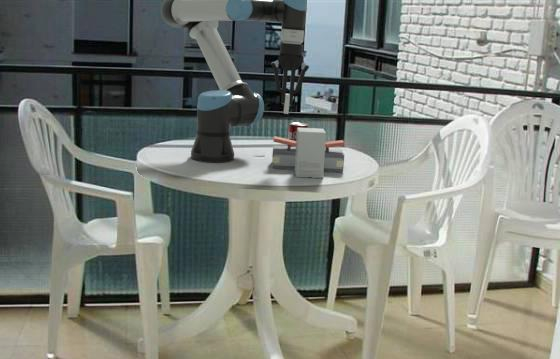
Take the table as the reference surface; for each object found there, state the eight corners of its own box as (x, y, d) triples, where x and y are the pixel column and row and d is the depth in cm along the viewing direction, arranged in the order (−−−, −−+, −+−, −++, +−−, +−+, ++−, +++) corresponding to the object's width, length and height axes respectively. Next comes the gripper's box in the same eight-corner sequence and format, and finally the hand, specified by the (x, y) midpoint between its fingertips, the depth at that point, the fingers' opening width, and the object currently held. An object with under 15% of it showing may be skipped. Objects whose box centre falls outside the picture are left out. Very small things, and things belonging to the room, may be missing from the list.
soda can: (304, 158, 250) (307, 126, 247) (285, 156, 252) (287, 124, 249) (308, 155, 257) (310, 123, 254) (289, 153, 258) (291, 121, 256)
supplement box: (321, 172, 229) (324, 128, 226) (323, 178, 221) (326, 132, 217) (293, 171, 229) (296, 126, 226) (295, 177, 220) (298, 131, 217)
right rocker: (311, 149, 232) (311, 145, 232) (311, 147, 236) (311, 143, 236) (344, 145, 232) (344, 142, 232) (343, 143, 236) (342, 140, 236)
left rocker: (273, 141, 232) (274, 138, 231) (273, 139, 236) (274, 136, 236) (304, 149, 232) (305, 145, 232) (304, 146, 236) (305, 143, 236)
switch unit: (271, 168, 231) (273, 147, 229) (272, 162, 241) (273, 141, 239) (343, 172, 231) (344, 151, 229) (340, 166, 241) (342, 145, 239)
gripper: (272, 41, 223) (267, 113, 229) (312, 44, 224) (306, 116, 230) (271, 40, 230) (266, 110, 236) (310, 43, 231) (304, 112, 237)
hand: (285, 113), depth 233 cm, fingers closed
